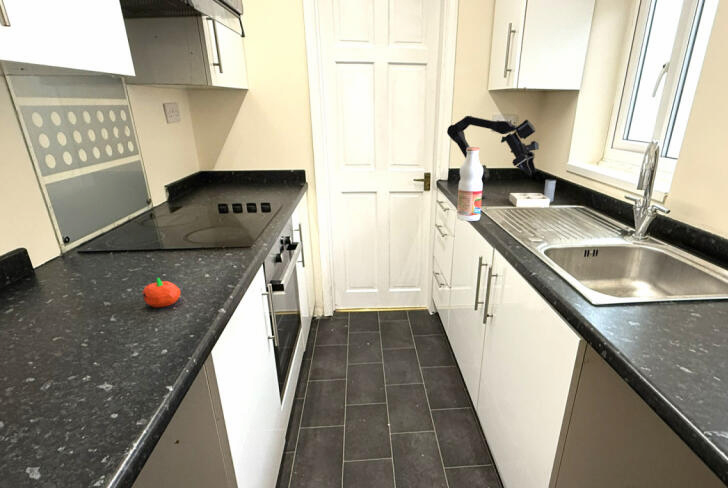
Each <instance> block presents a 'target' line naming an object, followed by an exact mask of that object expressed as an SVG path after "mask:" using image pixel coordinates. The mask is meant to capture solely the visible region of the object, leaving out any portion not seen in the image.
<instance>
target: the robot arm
mask: <svg viewBox="0 0 728 488" xmlns="http://www.w3.org/2000/svg"><path fill="white" fill-rule="evenodd" d="M469 126H472V127H473V126H474V127H479V128H484V129H488V130H491V131H493V132H495V133H497V134H500V135H505V136H501V139H500V143H501V144H502V143H505V142H506V144H507V146H508V147H509V149H510V153H511V154H513V156H514V158H513V159H512V165H513V166H514V167H516V168H517V169H519V170H521V171H522V172H524V173H525V174H526V175H527V176H532V174H535V173H537V169H536V165H535V162H534V160H535V157H536V156H535V155H536V154H535V152H534V151H538V150H539V149H540V148H539V146H540V144H539V142H537V141H536V140H532V141H530V143H529V144H526V143H524V142H522V139H523V140H525V139H527V138H528V137H530V136H531V135H533V134H534V133H535V132H536V129H535V126H534V125H533V124H532V123H531V122H530V121H529V119H525V120H523V122H521V123H520V124H518V125H515V124H513V123H512V122H511V121H510V120H491V119H486V118H483V117H482V118H481V117H476V116H472V115H466V116H464V117H463V118H462V119H460V120H459V121H457V122H456V123H454V124H450V125H449V126H448V127H447V130H446V134H447V135H448V137H449V138H450V139H451V140H452V142H454V143H455V144H456V145H457V146H458V148H459V150H460V152H461V153H462V155H463V156H464V159H466V157H467V152H466V149H467V147H471V146H470V145H469V143H468V142H467V140H466V133H465V132H464V131H466V130H467V128H469ZM512 132H513V133H512ZM481 166H482V167H483V175H482V178H481V180H482V194H483V192H484V191H483V190H484V185H485V183H486V182H487V181H488V180H489V178H490V170H488V167H487V165H486V164H483V165H482V164H481ZM484 198H485V197H484V195H482V199H484Z"/></svg>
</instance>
